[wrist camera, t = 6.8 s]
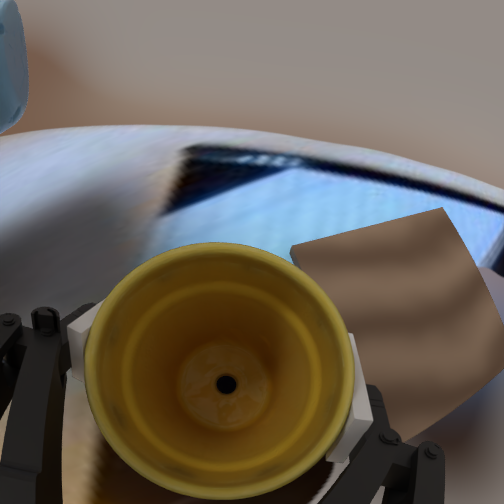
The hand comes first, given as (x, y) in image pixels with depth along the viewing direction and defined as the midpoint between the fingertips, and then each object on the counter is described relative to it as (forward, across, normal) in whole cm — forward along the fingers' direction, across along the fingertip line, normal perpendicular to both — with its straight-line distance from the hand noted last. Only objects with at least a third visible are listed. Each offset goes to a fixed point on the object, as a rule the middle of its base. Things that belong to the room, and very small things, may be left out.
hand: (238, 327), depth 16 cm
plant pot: (+1, 0, -6) cm, 6 cm away
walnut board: (+9, +14, 0) cm, 17 cm away
